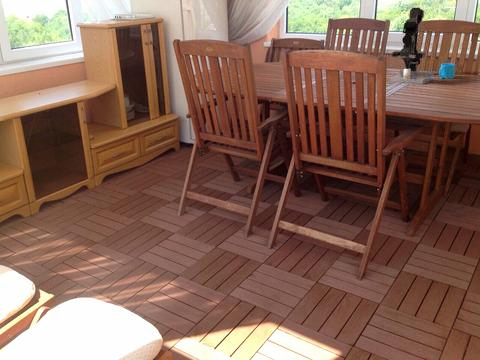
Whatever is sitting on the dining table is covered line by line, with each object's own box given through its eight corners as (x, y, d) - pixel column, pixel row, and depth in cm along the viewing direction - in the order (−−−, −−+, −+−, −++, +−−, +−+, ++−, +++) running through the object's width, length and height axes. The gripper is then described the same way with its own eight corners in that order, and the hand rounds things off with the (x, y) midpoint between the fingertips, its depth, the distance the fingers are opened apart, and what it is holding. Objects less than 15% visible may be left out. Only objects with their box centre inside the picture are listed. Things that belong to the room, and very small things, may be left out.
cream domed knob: (404, 79, 312) (405, 68, 309) (410, 79, 309) (411, 68, 307) (401, 80, 309) (402, 69, 306) (408, 81, 306) (409, 69, 304)
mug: (445, 75, 317) (446, 62, 314) (456, 77, 311) (458, 64, 308) (433, 78, 311) (434, 65, 308) (444, 80, 305) (446, 66, 301)
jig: (400, 77, 319) (400, 70, 317) (431, 79, 307) (432, 72, 305) (390, 81, 307) (390, 74, 306) (422, 84, 296) (423, 76, 294)
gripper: (389, 43, 300) (387, 69, 306) (420, 45, 289) (417, 72, 295) (396, 41, 308) (394, 67, 314) (426, 42, 297) (424, 69, 303)
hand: (407, 68), depth 306 cm, fingers closed
